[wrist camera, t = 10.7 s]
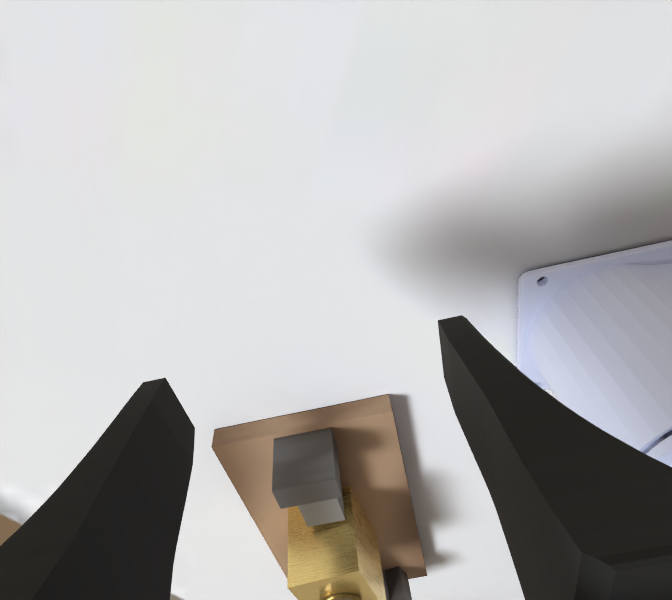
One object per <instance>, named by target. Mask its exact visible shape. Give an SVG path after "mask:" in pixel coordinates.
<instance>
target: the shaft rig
mask: <svg viewBox="0 0 672 600" xmlns="http://www.w3.org/2000/svg"><path fill="white" fill-rule="evenodd" d="M212 449H213V450H214V452H215V454H216V456H217V457H218V459H219V461H220V463H221V464H222V466H223V468H224V470H225V471H226V473H227V475H228V477H229V478H230V480H231V482H232V483H233V485H234V487H235V489H236V490H237V492H238V494H239V496H240V497H241V499H242V501H243V503H244V504H245V506H246V508H247V510H248V511H249V513H250V515H251V516H252V518H253V520H254V522H255V523H256V525H257V527H258V529H259V530H260V532H261V534H262V536H263V537H264V539H265V541H266V542H267V544H268V546H269V548H270V549H271V551H272V553H273V555H274V556H275V558H276V560H277V562H278V563H279V565H280V567H281V569H282V570H283V572H284V574H285V575H286V577H287V579H288V507H294V506H298V508H299V510H300V512H301V514H302V516H303V518H304V521H305V523H306V525H307V527H311V526H316V525H321V524H327V523H332V522H337V521H343V520H345V513H344V502H343V492H342V488H343V487H347V486H350V487H351V489H352V491H353V493H354V494H355V496H356V498H357V500H358V501H359V503H360V505H361V507H362V509H363V510H364V512H365V514H366V516H367V517H368V519H369V521H370V523H371V525H372V526H373V528H374V530H375V532H376V533H377V539H378V546H379V553H380V560H381V566H382V573H383V580H384V587H385V594H386V600H412V598H411V593H410V587H409V582H408V579H412V578H417V577H423V576H427V573H426V568H425V563H424V559H423V554H422V549H421V544H420V540H419V535H418V530H417V526H416V521H415V516H414V511H413V507H412V502H411V497H410V492H409V488H408V483H407V478H406V474H405V469H404V464H403V459H402V455H401V450H400V445H399V441H398V436H397V431H396V426H395V422H394V417H393V412H392V408H391V403H390V399H389V394H388V395H383V396H379V397H374V398H369V399H364V400H359V401H354V402H349V403H344V404H339V405H334V406H329V407H324V408H319V409H314V410H309V411H304V412H299V413H295V414H290V415H285V416H280V417H275V418H270V419H265V420H260V421H255V422H250V423H245V424H240V425H235V426H230V427H225V428H220V429H216V430H214V436H213V442H212Z"/></svg>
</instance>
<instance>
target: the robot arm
mask: <svg viewBox="0 0 672 600" xmlns="http://www.w3.org/2000/svg"><path fill="white" fill-rule="evenodd" d="M541 277H544V279H543V280H541V281H538V279H539V278H541ZM438 326H439V335H440V344H441V353H442V362H443V371H444V378H445V382H446V385H447V388H448V392H449V395H450V398H451V401H452V405H453V408H454V411H455V414H456V416H457V418H458V421H459V423H460V425H461V428H462V430H463V432H464V435H465V437H466V439H467V441H468V444H469V446H470V448H471V451H472V453H473V455H474V457H475V460H476V462H477V464H478V466H479V469H480V471H481V473H482V476H483V478H484V480H485V482H486V485H487V487H488V489H489V492H490V494H491V497H492V500H493V502H494V505H495V507H496V510H497V513H498V517H499V520H500V523H501V526H502V529H503V532H504V535H505V538H506V541H507V544H508V547H509V550H510V553H511V556H512V559H513V562H514V566H515V569H516V572H517V575H518V578H519V581H520V584H521V588H522V591H523V594H524V597H525V600H672V240H671V241H666V242H662V243H657V244H652V245H648V246H643V247H638V248H634V249H629V250H624V251H620V252H615V253H610V254H606V255H601V256H596V257H592V258H587V259H582V260H577V261H573V262H568V263H563V264H559V265H554V266H549V267H545V268H540V269H535V270H531V271H527V272H525V273H523V274H522V275H521V276H520V278H519V280H518V329H517V368H516V367H515V366H514V365H513V364H512V363H511V362H510V361H509V360H507V359H506V358H505V357H504V356H503V355H502V354H501V353H500V352H499V351H498V350H496V349H495V348H494V347H493V346H492V345H491V344H490V343H489V342H488V341H487V340H486V339H485V338H484V337H483V336H482V335H481V334H480V333H479V332H478V331H477V329H476V328H475V327H474V326H473V325H472V324H471V323H470V322H469V321H468V320H467V318H465V317H464V316H457V317H452V318H447V319H443V320H438ZM547 389H551V391H552V392H553V394H554V396H555V398H556V399H555V398H554V397H553V396H551V395H550V394H548V393H547V392H546V391H545V390H547ZM194 434H195V427H194V426H193V424H192V422H191V421H190V419H189V417H188V416H187V414H186V412H185V410H184V409H183V407H182V405H181V404H180V402H179V400H178V398H177V397H176V395H175V393H174V392H173V390H172V388H171V387H170V385H169V383H168V381H167V380H166V378H162V379H157V380H153V381H148V382H143V383H142V385H141V386H140V387H139V388H138V389H137V391H136V392H135V393H134V394H133V396H132V397H131V398H130V400H129V401H128V402H127V403H126V405H125V406H124V407H123V409H122V410H121V411H120V413H119V414H118V415H117V417H116V418H115V419H114V420H113V422H112V423H111V424H110V426H109V427H108V428H107V429H106V431H105V432H104V433H103V435H102V436H101V437H100V438H99V440H98V441H97V442H96V444H95V445H94V446H93V447H92V449H91V450H90V451H89V452H88V453H87V455H86V456H85V457H84V458H83V459H82V461H81V462H80V463H79V464H78V465H77V466H76V468H75V469H74V470H73V471H72V472H71V474H70V475H69V476H68V477H67V478H66V480H65V481H64V482H63V483H62V484H61V485H60V486H59V488H58V489H57V490H56V491H55V492H54V493H53V494H52V495H51V496H50V497H49V499H48V500H47V501H46V502H45V503H44V504H43V505H42V506H41V507H40V508H39V509H38V510H37V511H36V512H35V513H34V514H33V515H32V516H31V517H30V518H29V519H28V520H27V521H26V522H25V523H24V524H23V525H22V526H21V527H20V528H19V529H18V530H17V531H16V532H15V533H14V534H13V535H12V536H11V537H10V538H8V539H7V540H6V541H5V542H4V543H3V544H2V545H1V546H0V600H170V592H171V582H172V572H173V563H174V557H175V551H176V545H177V540H178V535H179V531H180V526H181V521H182V516H183V511H184V506H185V501H186V496H187V491H188V486H189V481H190V476H191V470H192V465H193V453H194Z"/></svg>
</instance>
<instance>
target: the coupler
mask: <svg viewBox="0 0 672 600" xmlns="http://www.w3.org/2000/svg"><path fill="white" fill-rule="evenodd" d="M342 492H343V502H344V513H345V520H343V521H337V522H332V523H327V524H321V525H316V526H311V527H307V525H306V523H305V521H304V518H303V516H302V514H301V512H300V510H299V508H298V506H294V507H288V589H289V590H290V591H291V592H292V593H293V595H294V596H295V597H296V598H297V599H298V600H386V594H385V587H384V580H383V573H382V566H381V560H380V553H379V546H378V539H377V533H376V532H375V530H374V528H373V526H372V525H371V523H370V521H369V519H368V517H367V516H366V514H365V512H364V510H363V509H362V507H361V505H360V503H359V501H358V500H357V498H356V496H355V494H354V493H353V491H352V489H351V487H350V486H347V487H343V488H342Z"/></svg>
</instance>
